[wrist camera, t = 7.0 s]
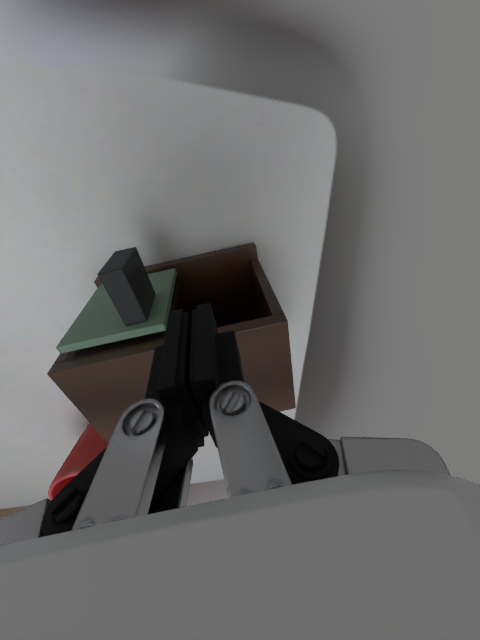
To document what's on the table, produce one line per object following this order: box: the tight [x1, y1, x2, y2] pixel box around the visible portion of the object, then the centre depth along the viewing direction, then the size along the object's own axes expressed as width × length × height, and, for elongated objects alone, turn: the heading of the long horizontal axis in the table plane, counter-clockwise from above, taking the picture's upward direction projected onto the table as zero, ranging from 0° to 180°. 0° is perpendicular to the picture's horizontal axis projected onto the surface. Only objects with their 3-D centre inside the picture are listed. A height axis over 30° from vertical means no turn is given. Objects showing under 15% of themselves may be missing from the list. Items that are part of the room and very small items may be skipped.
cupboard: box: [47, 243, 295, 444], centre depth 24 cm, size 11×16×12 cm, turn 100°
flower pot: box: [48, 423, 108, 500], centre depth 35 cm, size 11×11×10 cm
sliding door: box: [56, 247, 177, 353], centre depth 20 cm, size 5×7×9 cm, turn 100°
